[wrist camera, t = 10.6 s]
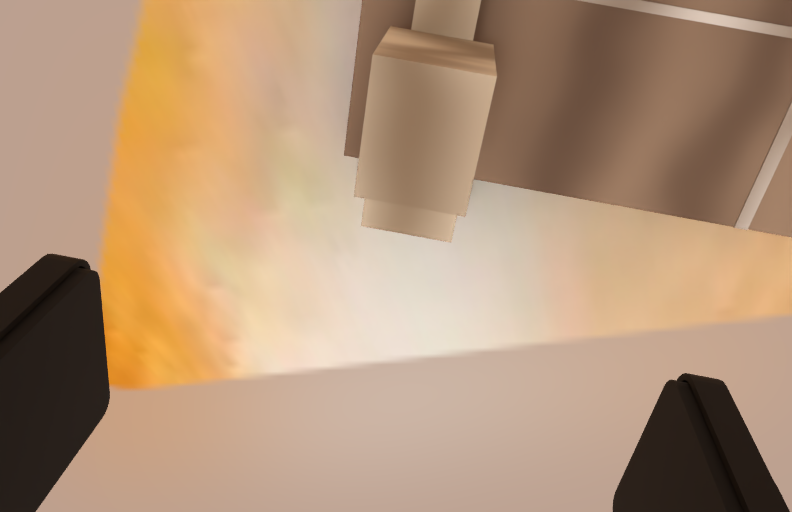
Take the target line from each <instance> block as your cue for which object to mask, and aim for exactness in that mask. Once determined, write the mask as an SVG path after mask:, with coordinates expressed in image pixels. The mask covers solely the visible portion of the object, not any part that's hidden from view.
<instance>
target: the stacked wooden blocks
mask: <svg viewBox="0 0 792 512" xmlns="http://www.w3.org/2000/svg"><path fill="white" fill-rule="evenodd" d="M480 4H481V0H416V2H415V8H414V15H413V21H412V28H411V30H409V29H404V28H398V27H393V26H390V28H389V29H388V31H387V33H386V34H385V36H384V37H383V39H382V40H381V42H380V43H379V45H378V47H377V48H376V50H375V51H374V53H373V55H372V63H371V70H370V78H369V86H368V93H367V101H366V108H365V116H364V124H363V131H362V139H361V147H360V154H359V162H358V169H357V177H356V185H355V192H354V197H360V198H365V202H364V209H363V216H362V223H361V226H365V227H370V228H375V229H381V230H386V231H392V232H397V233H402V234H408V235H413V236H418V237H424V238H429V239H435V240H440V241H445V242H451V240H452V236H453V231H454V227H455V222H456V218H457V216H463V217H465V215H466V211H467V206H468V202H469V198H470V193H471V189H472V184H473V180H474V176H475V171H476V167H477V162H478V158H479V154H480V149H481V145H482V140H483V136H484V132H485V127H486V123H487V118H488V114H489V110H490V105H491V101H492V96H493V92H494V88H495V83H496V79H497V72H496V63H495V54H494V45H493V44H488V43H482V42H476V41H473V38H474V33H475V28H476V23H477V18H478V13H479V8H480Z"/></svg>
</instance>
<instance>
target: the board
mask: <svg viewBox="0 0 792 512" xmlns="http://www.w3.org/2000/svg"><path fill="white" fill-rule="evenodd" d="M415 2H416V0H362V8H361V16H360V25H359V33H358V42H357V50H356V59H355V67H354V75H353V84H352V92H351V101H350V109H349V117H348V126H347V134H346V143H345V151H344V155H345V156H351V157H356V158H359V154H360V147H361V139H362V131H363V124H364V116H365V108H366V101H367V93H368V86H369V78H370V70H371V63H372V55H373V53H374V51H375V50H376V48H377V47H378V45H379V43H380V42H381V40H382V39H383V37H384V36H385V34H386V33H387V31H388V29H389V28H390V26H393V27H398V28H404V29H409V30H411V28H412V21H413V15H414V8H415ZM473 41H476V42H482V43H488V44H493V45H494V54H495V63H496V72H497V79H496V83H495V88H494V92H493V96H492V101H491V105H490V110H489V114H488V118H487V123H486V127H485V132H484V136H483V140H482V145H481V149H480V154H479V158H478V162H477V167H476V171H475V176H474V179H476V180H481V181H487V182H492V183H498V184H503V185H509V186H514V187H520V188H525V189H530V190H536V191H541V192H547V193H552V194H558V195H563V196H569V197H574V198H579V199H585V200H590V201H596V202H601V203H607V204H612V205H618V206H623V207H629V208H634V209H639V210H645V211H650V212H656V213H661V214H667V215H672V216H678V217H683V218H689V219H694V220H699V221H705V222H710V223H716V224H721V225H727V226H732V227H734V228H738V229H744V230H754V231H759V232H765V233H770V234H776V235H781V236H787V237H792V0H481V4H480V8H479V13H478V18H477V23H476V28H475V33H474V38H473Z"/></svg>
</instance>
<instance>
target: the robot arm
mask: <svg viewBox="0 0 792 512" xmlns="http://www.w3.org/2000/svg"><path fill="white" fill-rule="evenodd" d="M109 398H110V391H109V380H108V368H107V357H106V346H105V335H104V323H103V312H102V301H101V289H100V279H99V275H98V273H97V272H96V271H93V270H91V269H90V266H89V264H88V262H87V261H85V260H83V259H78V258H72V257H67V256H61V255H56V254H47V255H45V256H44V257H42V258H41V259H40V260H39V261H37V262H36V263H35V264H34V265H33V266H31V267H30V268H29V269H28V270H27V271H26V272H24V273H23V274H22V275H21V276H20V277H18V278H17V279H16V280H15V281H14V282H13V283H11V284H10V285H9V286H8V287H7V288H5V289H4V290H3V291H2V292H1V293H0V512H36V510H37V509H38V507H39V506H40V505H41V503H42V502H43V500H44V499H45V497H46V496H47V495H48V493H49V492H50V490H51V489H52V488H53V486H54V485H55V484H56V482H57V481H58V479H59V478H60V476H61V475H62V474H63V472H64V471H65V470H66V468H67V467H68V465H69V464H70V462H71V461H72V460H73V458H74V457H75V455H76V454H77V453H78V451H79V450H80V448H81V447H82V445H83V444H84V443H85V441H86V440H87V439H88V437H89V436H90V434H91V433H92V432H93V430H94V429H95V427H96V426H97V424H98V423H99V422H100V420H101V419H102V417H103V416H104V414H105V412H106V410H107V407H108V404H109ZM613 512H790V511H789V509H788V507H787V505H786V503H785V501H784V499H783V497H782V495H781V493H780V492H779V489H778V487H777V485H776V484H775V482H774V481H773V479H772V477H771V475H770V473H769V471H768V469H767V467H766V465H765V463H764V461H763V459H762V457H761V455H760V453H759V451H758V449H757V446H756V444H755V442H754V441H753V438H752V436H751V434H750V432H749V430H748V428H747V426H746V424H745V423H744V420H743V418H742V417H741V415H740V412H739V410H738V408H737V406H736V404H735V402H734V400H733V398H732V396H731V394H730V392H729V390H728V388H727V386H726V385H725V384H724V382H723V381H721V380H719V379H714V378H709V377H703V376H698V375H693V374H687V373H685V374H682V375H681V376H680V377H679V378H678V379H677V381H676V380H669V381H668V382H667V383H666V384H665V386H664V388H663V390H662V392H661V394H660V397H659V399H658V401H657V403H656V405H655V407H654V410H653V412H652V414H651V416H650V418H649V420H648V423H647V425H646V427H645V429H644V431H643V433H642V436H641V438H640V440H639V442H638V444H637V446H636V448H635V451H634V453H633V455H632V457H631V459H630V461H629V464H628V466H627V468H626V470H625V472H624V475H623V477H622V479H621V481H620V483H619V485H618V488H617V490H616V492H615V495H614V500H613Z"/></svg>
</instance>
